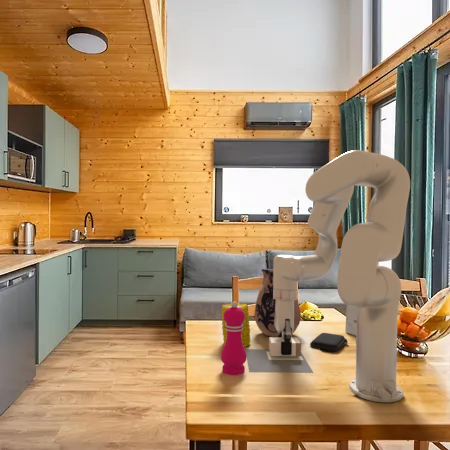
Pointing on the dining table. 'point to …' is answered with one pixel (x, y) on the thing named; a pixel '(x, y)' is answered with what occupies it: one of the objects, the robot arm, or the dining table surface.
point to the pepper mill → (233, 342)
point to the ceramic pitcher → (270, 306)
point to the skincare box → (351, 320)
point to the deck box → (276, 346)
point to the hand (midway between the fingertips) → (284, 350)
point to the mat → (275, 362)
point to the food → (246, 330)
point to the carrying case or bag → (328, 342)
